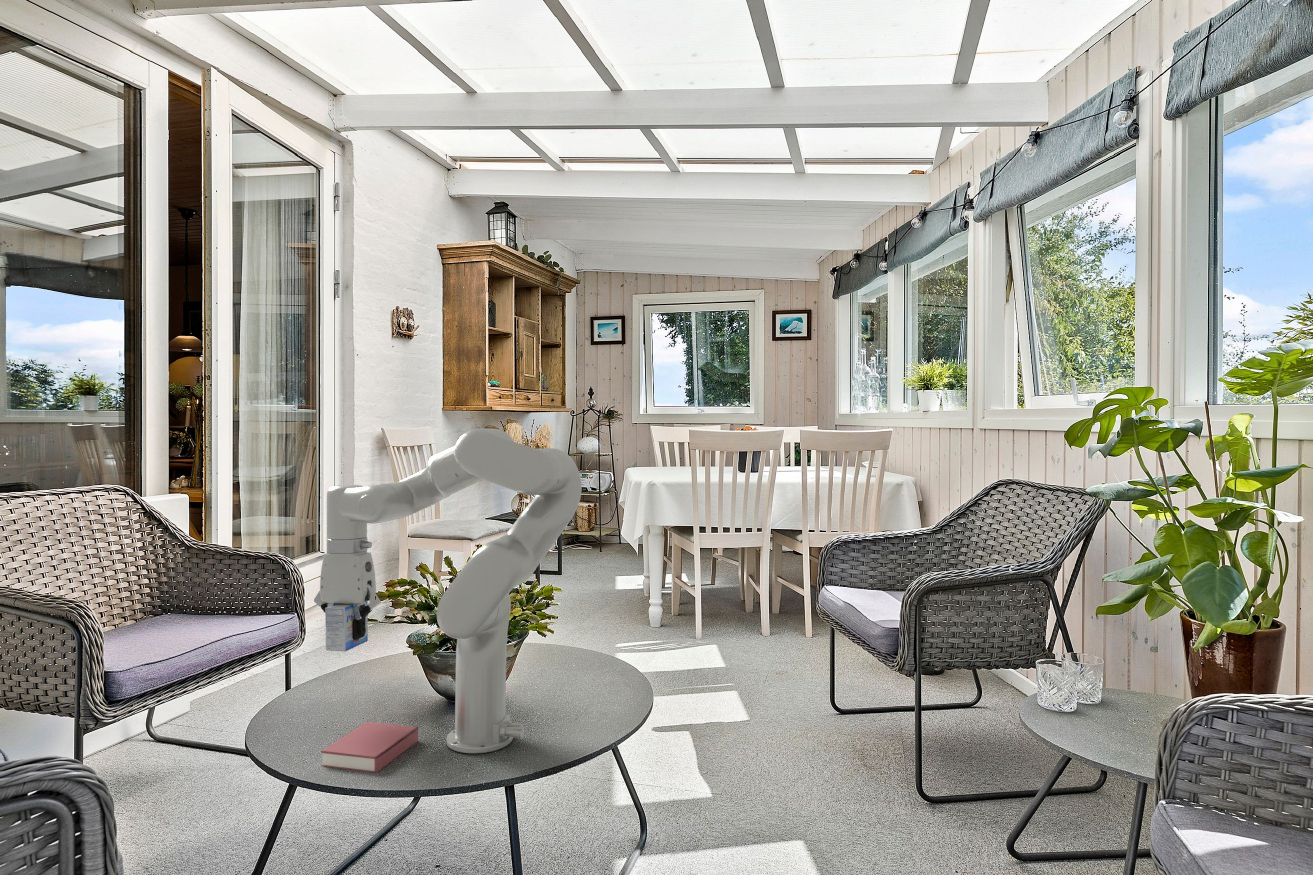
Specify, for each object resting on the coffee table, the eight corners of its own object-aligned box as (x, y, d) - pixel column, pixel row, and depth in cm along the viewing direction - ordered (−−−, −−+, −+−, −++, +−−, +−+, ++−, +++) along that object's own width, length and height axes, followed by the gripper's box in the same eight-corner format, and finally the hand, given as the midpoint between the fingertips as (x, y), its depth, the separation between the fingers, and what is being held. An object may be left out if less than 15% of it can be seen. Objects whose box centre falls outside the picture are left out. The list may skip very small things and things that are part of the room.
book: (418, 742, 145) (418, 726, 145) (376, 774, 132) (376, 756, 132) (367, 736, 148) (367, 721, 148) (321, 767, 134) (321, 750, 134)
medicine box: (345, 652, 147) (345, 607, 147) (324, 650, 148) (324, 606, 148) (368, 641, 154) (368, 599, 154) (348, 640, 155) (348, 598, 155)
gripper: (395, 545, 153) (395, 634, 153) (322, 542, 157) (322, 630, 157) (373, 550, 146) (374, 644, 146) (297, 548, 149) (297, 640, 149)
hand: (347, 636), depth 151 cm, fingers closed on medicine box, 4 cm apart
